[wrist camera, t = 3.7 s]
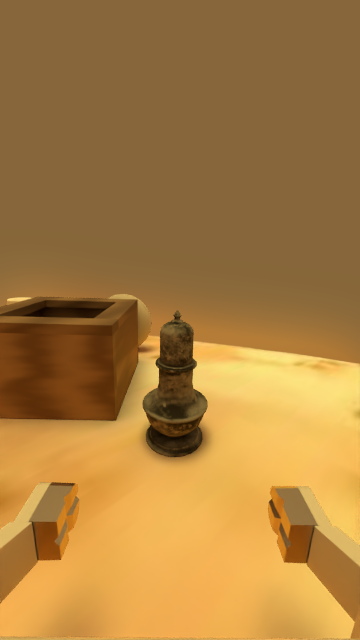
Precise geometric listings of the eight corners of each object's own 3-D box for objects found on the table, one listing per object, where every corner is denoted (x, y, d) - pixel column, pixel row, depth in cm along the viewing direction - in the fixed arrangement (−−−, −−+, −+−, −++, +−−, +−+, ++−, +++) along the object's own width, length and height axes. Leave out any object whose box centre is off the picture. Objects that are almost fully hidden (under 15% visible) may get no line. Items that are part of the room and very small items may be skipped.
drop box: (-34, 417, 25) (-53, 321, 23) (44, 359, 40) (37, 296, 37) (115, 420, 25) (111, 325, 23) (138, 361, 40) (137, 299, 37)
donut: (153, 347, 46) (154, 294, 44) (148, 354, 43) (148, 296, 40) (103, 343, 48) (100, 291, 45) (94, 349, 44) (91, 293, 42)
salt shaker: (182, 409, 27) (186, 302, 25) (218, 442, 23) (228, 313, 20) (132, 428, 24) (130, 307, 21) (162, 470, 19) (164, 322, 17)
